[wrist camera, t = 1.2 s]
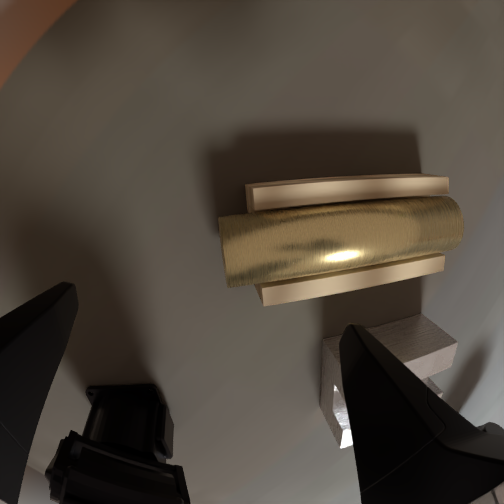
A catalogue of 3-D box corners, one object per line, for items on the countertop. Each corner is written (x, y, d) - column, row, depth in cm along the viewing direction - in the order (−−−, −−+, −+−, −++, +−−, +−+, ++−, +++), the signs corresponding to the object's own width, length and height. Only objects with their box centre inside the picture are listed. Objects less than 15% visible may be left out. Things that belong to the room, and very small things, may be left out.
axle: (224, 275, 20) (229, 298, 16) (217, 213, 19) (220, 222, 15) (428, 244, 22) (462, 256, 18) (428, 193, 21) (464, 198, 17)
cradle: (319, 407, 26) (340, 448, 21) (322, 339, 24) (350, 380, 19) (408, 379, 28) (436, 411, 22) (421, 313, 25) (458, 342, 20)
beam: (254, 286, 22) (263, 306, 19) (245, 184, 20) (253, 188, 17) (419, 258, 23) (443, 270, 20) (421, 173, 21) (448, 177, 18)
